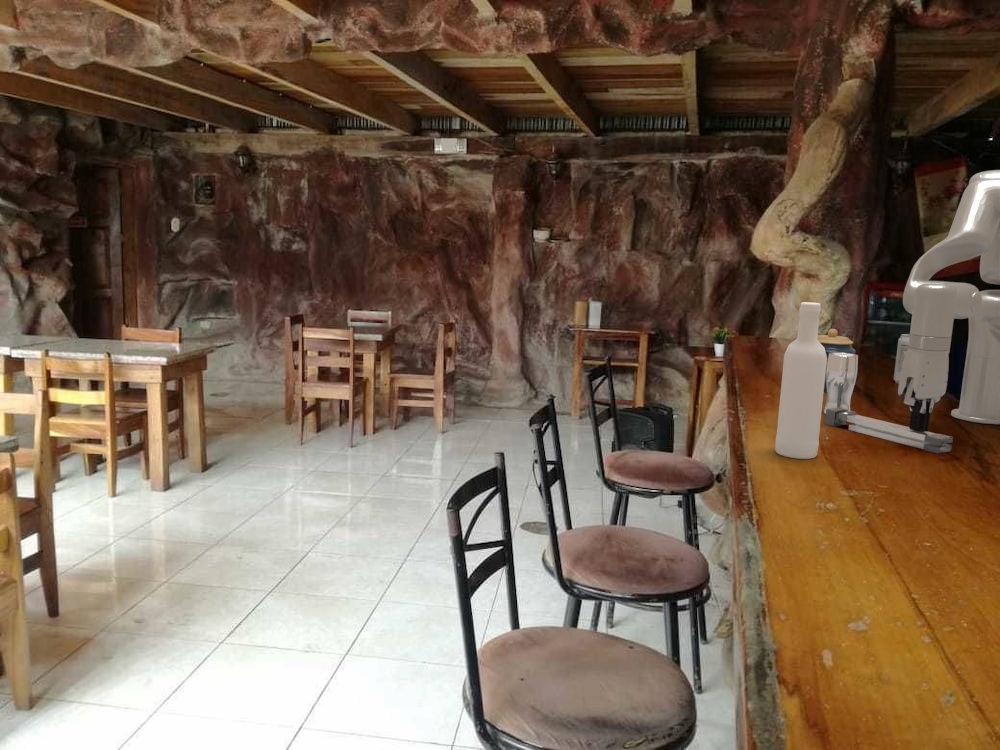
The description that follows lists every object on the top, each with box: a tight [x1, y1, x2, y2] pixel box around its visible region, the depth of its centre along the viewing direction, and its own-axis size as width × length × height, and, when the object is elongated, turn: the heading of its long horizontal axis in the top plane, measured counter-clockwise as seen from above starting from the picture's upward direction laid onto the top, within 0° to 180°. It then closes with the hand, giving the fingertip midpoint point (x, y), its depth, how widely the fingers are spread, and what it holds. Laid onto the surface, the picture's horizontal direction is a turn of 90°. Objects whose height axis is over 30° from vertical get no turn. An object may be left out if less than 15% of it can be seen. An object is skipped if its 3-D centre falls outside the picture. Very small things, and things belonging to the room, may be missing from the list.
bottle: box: [775, 301, 827, 460], centre depth 150 cm, size 8×8×30 cm
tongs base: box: [824, 407, 953, 454], centre depth 168 cm, size 27×5×4 cm, turn 29°
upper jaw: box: [836, 410, 954, 445], centre depth 166 cm, size 24×5×2 cm, turn 29°
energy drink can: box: [893, 333, 910, 385], centre depth 235 cm, size 6×6×15 cm
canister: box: [817, 328, 857, 393], centre depth 222 cm, size 13×13×18 cm
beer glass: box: [823, 352, 859, 415], centre depth 188 cm, size 7×7×15 cm
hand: (918, 430), depth 161 cm, fingers closed
